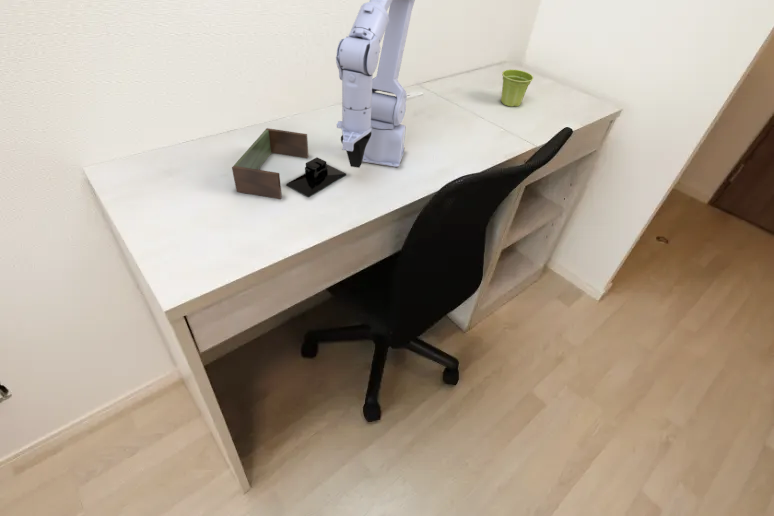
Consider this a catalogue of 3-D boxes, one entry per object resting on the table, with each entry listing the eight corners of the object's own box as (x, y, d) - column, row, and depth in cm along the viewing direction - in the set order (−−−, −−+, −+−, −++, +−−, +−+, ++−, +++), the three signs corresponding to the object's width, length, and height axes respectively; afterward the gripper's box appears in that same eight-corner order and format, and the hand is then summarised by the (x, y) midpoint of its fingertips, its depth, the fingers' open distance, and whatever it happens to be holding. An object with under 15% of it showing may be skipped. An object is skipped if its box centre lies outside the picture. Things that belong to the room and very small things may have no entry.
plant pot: (529, 102, 141) (537, 74, 135) (519, 112, 135) (527, 83, 129) (502, 94, 145) (508, 67, 139) (491, 103, 139) (497, 75, 133)
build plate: (308, 198, 95) (307, 179, 92) (284, 185, 98) (282, 167, 95) (346, 175, 103) (346, 157, 100) (323, 163, 106) (322, 146, 103)
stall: (308, 156, 108) (307, 134, 104) (280, 199, 94) (277, 174, 90) (269, 150, 109) (266, 128, 105) (236, 192, 95) (231, 167, 91)
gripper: (346, 88, 93) (346, 147, 102) (326, 116, 82) (328, 180, 91) (379, 92, 92) (376, 151, 101) (363, 122, 81) (361, 185, 90)
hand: (355, 165), depth 96 cm, fingers closed
